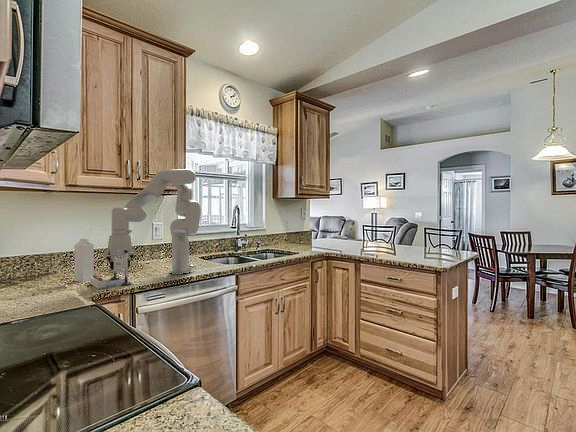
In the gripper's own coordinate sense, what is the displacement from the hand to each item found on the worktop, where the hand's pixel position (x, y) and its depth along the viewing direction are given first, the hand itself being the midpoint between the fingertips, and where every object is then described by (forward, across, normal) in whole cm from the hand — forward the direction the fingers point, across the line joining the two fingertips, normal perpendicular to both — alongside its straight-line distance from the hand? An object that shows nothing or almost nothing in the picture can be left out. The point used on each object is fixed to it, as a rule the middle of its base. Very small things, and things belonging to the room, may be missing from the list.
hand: (119, 268), depth 161 cm
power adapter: (+1, 0, 0) cm, 1 cm away
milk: (+8, +12, -17) cm, 22 cm away
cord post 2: (+7, 0, +8) cm, 11 cm away
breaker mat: (+8, +4, 0) cm, 9 cm away
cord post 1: (+7, 0, -8) cm, 11 cm away
